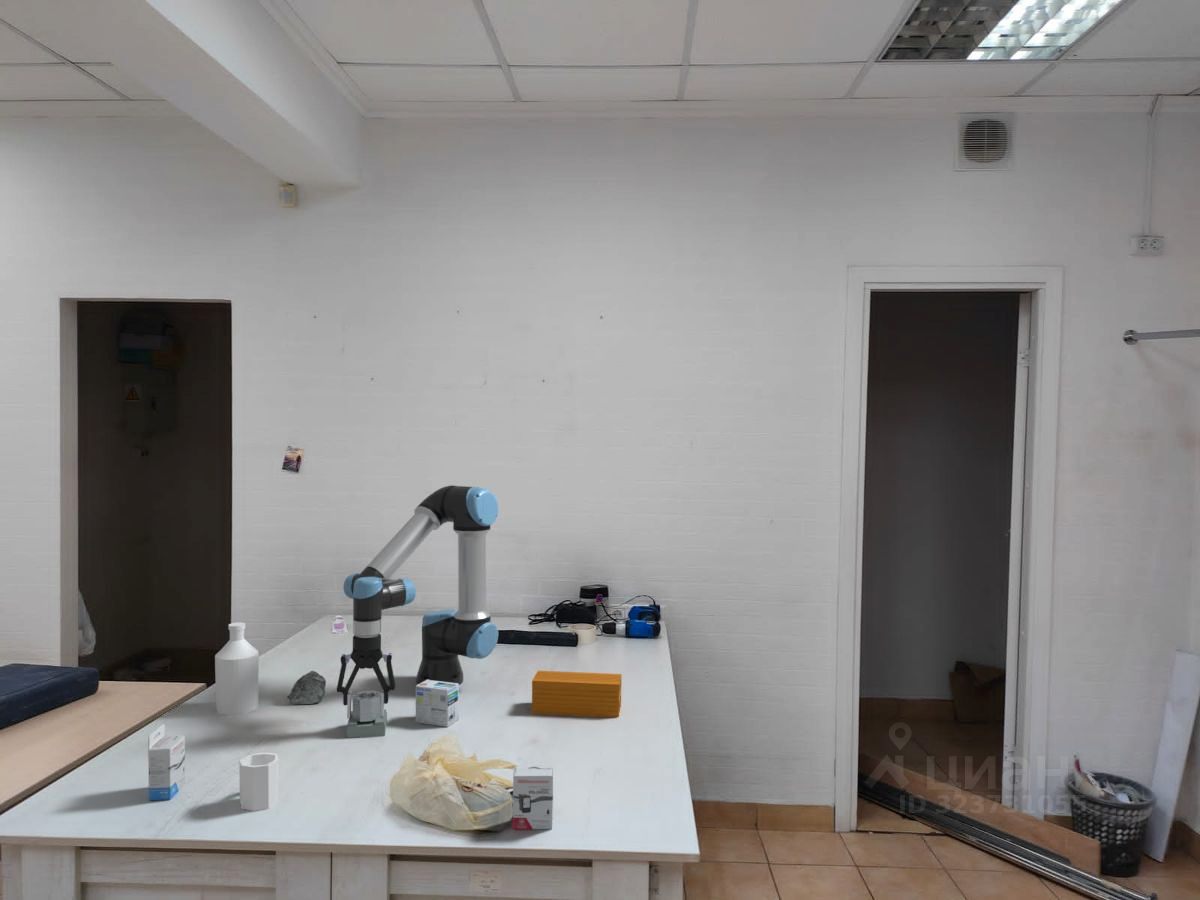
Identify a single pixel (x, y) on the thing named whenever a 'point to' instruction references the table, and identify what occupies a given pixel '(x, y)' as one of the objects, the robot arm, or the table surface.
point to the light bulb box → (437, 703)
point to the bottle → (236, 674)
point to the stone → (308, 689)
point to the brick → (576, 694)
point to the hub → (366, 706)
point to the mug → (259, 781)
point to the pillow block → (366, 725)
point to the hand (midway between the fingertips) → (365, 715)
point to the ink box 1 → (165, 764)
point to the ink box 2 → (532, 797)
